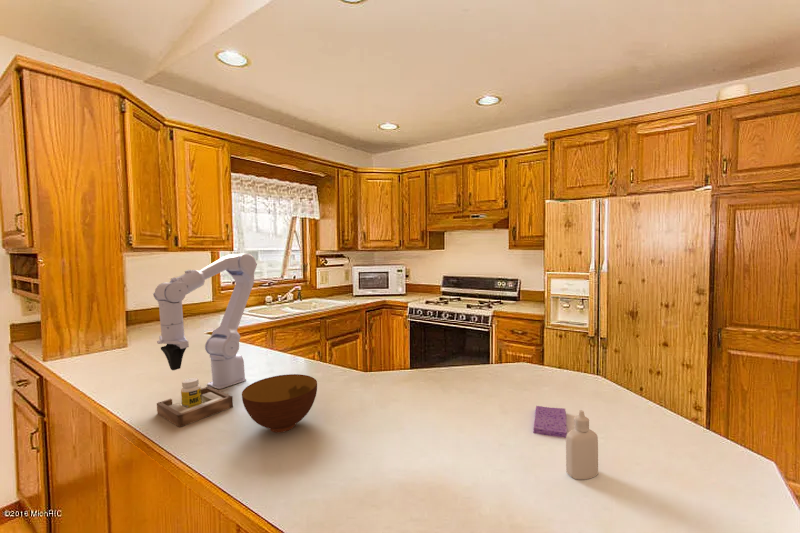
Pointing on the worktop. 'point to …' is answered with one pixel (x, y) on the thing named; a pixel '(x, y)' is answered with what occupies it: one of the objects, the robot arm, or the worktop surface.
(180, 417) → the socket box
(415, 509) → the worktop surface
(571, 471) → the eye dropper bottle
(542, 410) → the sponges
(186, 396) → the supplement bottle
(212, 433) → the worktop surface
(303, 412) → the bowl
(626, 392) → the worktop surface
